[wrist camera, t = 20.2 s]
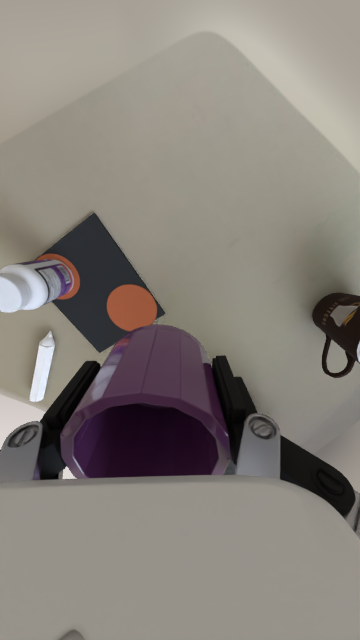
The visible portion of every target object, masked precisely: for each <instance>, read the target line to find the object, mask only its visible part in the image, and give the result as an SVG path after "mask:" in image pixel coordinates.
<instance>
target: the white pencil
mask: <svg viewBox="0 0 360 640" xmlns="http://www.w3.org/2000/svg"><path fill="white" fill-rule="evenodd" d="M54 347H55V341H54V340H53V336H52V331H51V330H50V332H49V333H48V334H47V336H46V337H45V338H44V339H43V340H41V341H40V344H39V349H38V354H37V360H36V365H35V371H34V376H33V382H32V387H31V393H30V399H29V400H30V401H33V402H38V401H40V400H42V399H43V397H44V392H45V388H46V383H47V379H48V374H49V370H50V365H51V361H52V356H53V351H54Z"/></svg>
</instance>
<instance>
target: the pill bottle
mask: <svg viewBox="0 0 360 640" xmlns="http://www.w3.org/2000/svg"><path fill="white" fill-rule="evenodd" d="M73 285H74V277H73V274H72V272H71V270H70V269H69V268H68V266H67V265H65V264H64V263H63V262H61V261H59V260H55V259H43V260H37V261H31V262H24V263H18V264H12V265H8V266H6V267H4V268H2V269H1V270H0V311H2V312H14V311H17V310H19V309H25V310H32V309H36V308H38V307H41V306H43V305H45V304H46V303H48V302H51V301H53V300H55V299H57V298H59V297H61V296H63V295H65V294H67V293H68V292H70V291H71V289H72V288H73Z"/></svg>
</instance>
